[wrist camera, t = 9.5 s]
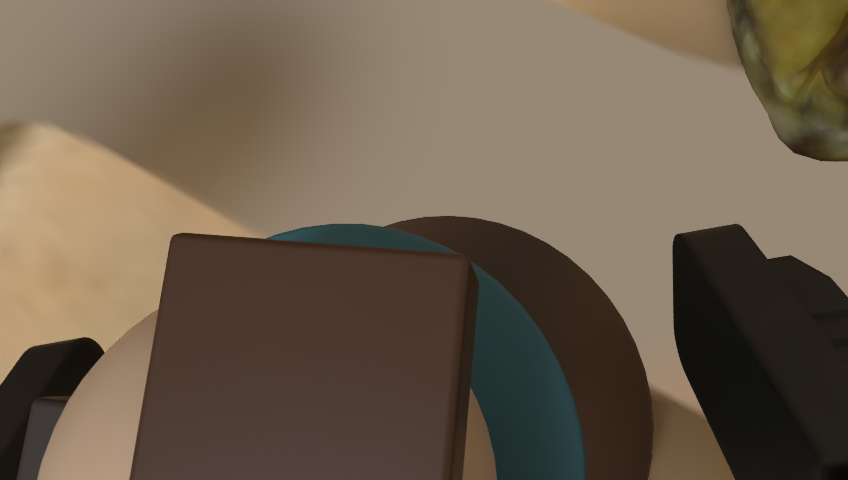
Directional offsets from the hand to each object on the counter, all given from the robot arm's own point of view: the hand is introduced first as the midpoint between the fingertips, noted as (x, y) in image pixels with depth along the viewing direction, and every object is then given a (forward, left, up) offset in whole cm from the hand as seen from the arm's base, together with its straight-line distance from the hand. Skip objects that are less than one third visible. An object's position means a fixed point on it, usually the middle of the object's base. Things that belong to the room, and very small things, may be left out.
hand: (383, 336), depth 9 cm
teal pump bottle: (-1, +1, -5) cm, 5 cm away
